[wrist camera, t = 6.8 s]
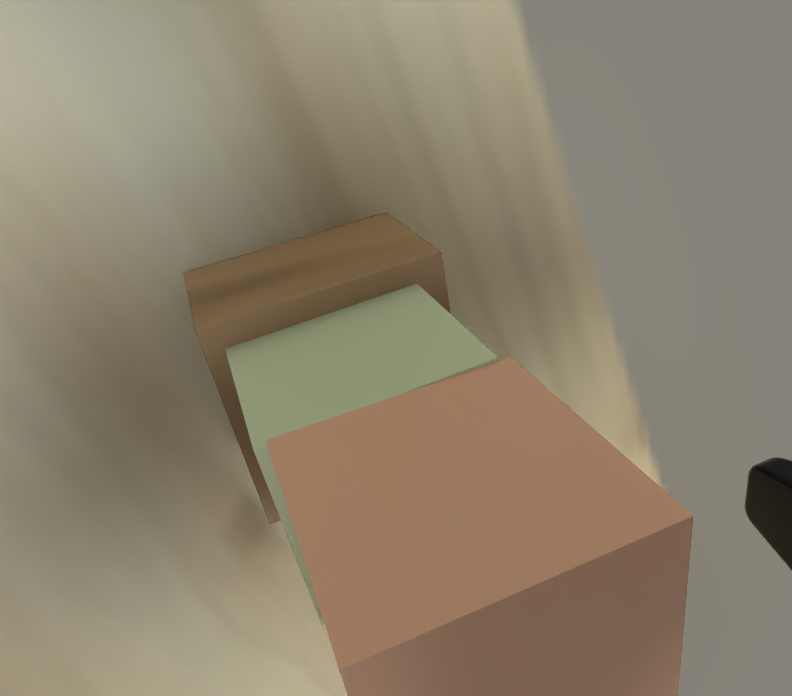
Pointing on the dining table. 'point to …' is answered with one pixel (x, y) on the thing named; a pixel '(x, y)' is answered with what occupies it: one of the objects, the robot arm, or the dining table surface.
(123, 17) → the dining table surface
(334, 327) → the sage block
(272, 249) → the walnut block
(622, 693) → the terracotta block
